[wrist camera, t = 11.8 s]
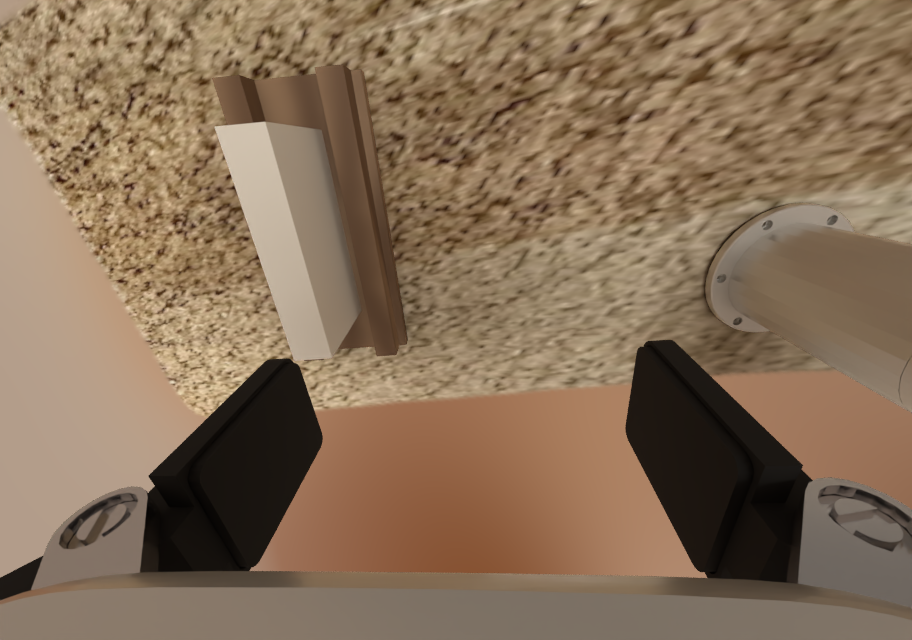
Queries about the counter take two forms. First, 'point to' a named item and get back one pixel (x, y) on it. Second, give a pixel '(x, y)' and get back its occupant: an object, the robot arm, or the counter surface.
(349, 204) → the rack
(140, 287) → the counter surface
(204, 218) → the counter surface
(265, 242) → the white rectangular slab
